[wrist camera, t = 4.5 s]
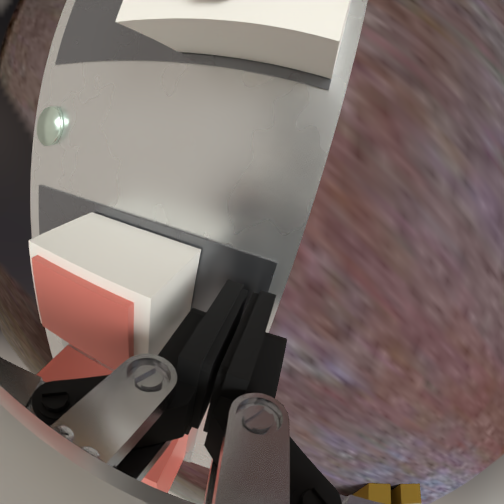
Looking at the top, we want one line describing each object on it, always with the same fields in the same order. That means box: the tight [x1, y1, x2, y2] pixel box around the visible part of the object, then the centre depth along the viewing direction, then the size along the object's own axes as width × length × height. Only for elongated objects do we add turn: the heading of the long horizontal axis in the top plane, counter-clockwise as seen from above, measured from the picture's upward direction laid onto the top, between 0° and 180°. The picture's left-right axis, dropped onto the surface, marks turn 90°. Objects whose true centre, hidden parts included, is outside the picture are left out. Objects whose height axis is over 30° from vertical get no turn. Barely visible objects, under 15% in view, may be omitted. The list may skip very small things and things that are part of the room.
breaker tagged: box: [29, 212, 201, 370], centre depth 9 cm, size 4×5×4 cm
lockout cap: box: [37, 345, 189, 493], centre depth 13 cm, size 7×9×5 cm
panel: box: [30, 0, 368, 468], centre depth 12 cm, size 30×13×2 cm, turn 166°
